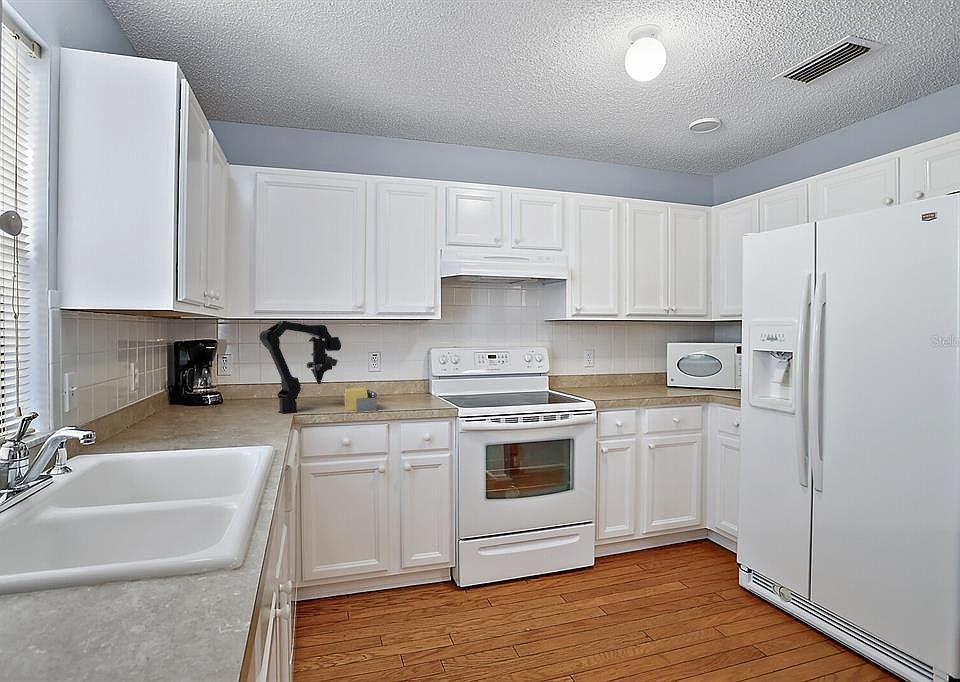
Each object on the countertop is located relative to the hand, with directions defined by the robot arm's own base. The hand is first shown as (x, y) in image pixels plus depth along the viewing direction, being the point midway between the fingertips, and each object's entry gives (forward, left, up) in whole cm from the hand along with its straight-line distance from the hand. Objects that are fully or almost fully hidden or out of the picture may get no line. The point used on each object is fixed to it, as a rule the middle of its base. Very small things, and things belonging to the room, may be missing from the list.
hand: (319, 384), depth 280 cm
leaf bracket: (+17, -13, -12) cm, 24 cm away
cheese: (+13, -12, -12) cm, 21 cm away
